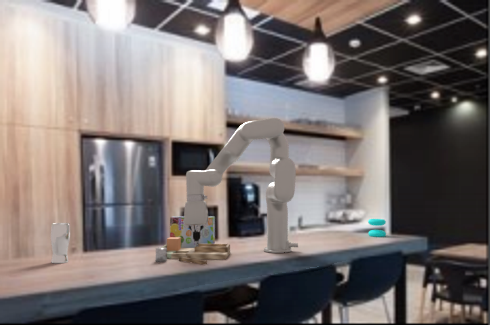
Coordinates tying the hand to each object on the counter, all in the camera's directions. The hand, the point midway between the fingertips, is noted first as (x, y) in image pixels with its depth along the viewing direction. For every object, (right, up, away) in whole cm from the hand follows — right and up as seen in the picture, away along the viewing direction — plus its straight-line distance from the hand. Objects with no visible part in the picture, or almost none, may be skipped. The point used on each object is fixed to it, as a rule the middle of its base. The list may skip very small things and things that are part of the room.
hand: (196, 240), depth 182 cm
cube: (-10, -4, 0) cm, 11 cm away
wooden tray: (0, -6, -4) cm, 7 cm away
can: (-12, -5, -17) cm, 21 cm away
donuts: (+99, -10, +65) cm, 119 cm away
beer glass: (-51, -5, -19) cm, 55 cm away
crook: (+2, -5, -18) cm, 19 cm away
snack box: (-4, -7, +20) cm, 21 cm away
